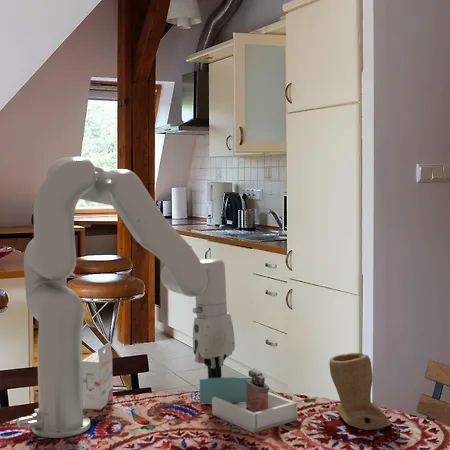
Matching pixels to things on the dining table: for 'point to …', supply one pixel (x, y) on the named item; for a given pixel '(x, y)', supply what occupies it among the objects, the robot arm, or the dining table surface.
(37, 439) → the dining table surface
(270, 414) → the box
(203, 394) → the box door
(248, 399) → the lighter
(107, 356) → the ink cartridge box
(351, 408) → the clay boot vessel
